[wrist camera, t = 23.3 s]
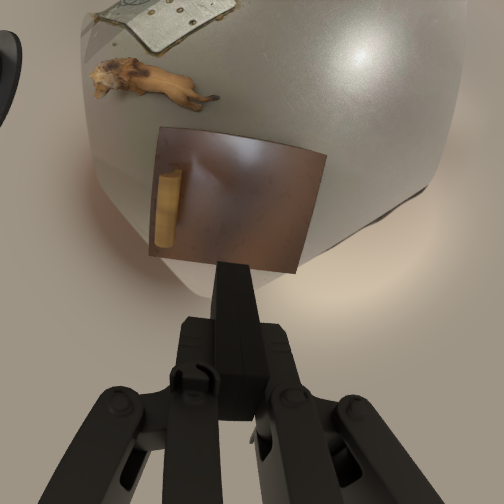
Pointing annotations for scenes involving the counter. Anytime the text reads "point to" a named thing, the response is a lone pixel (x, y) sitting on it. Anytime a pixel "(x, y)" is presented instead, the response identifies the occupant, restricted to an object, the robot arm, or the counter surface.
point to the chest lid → (232, 199)
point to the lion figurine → (145, 81)
